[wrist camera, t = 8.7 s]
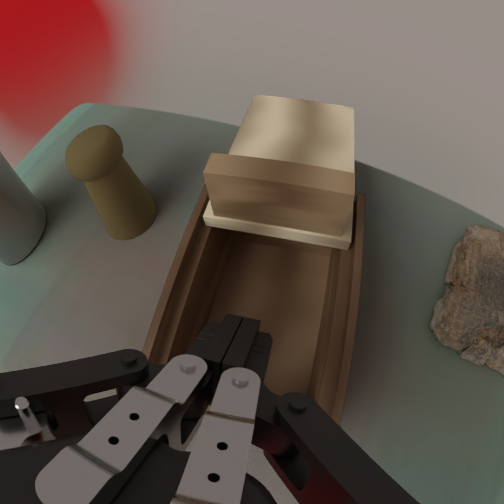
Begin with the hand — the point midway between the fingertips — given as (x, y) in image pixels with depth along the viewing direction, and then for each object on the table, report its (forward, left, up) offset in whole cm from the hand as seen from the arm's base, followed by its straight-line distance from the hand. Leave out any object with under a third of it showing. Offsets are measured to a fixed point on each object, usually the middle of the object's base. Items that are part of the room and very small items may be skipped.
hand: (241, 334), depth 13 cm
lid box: (0, +3, -10) cm, 11 cm away
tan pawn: (-16, +11, -11) cm, 22 cm away
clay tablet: (+25, +8, -11) cm, 29 cm away
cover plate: (0, +15, -3) cm, 15 cm away
